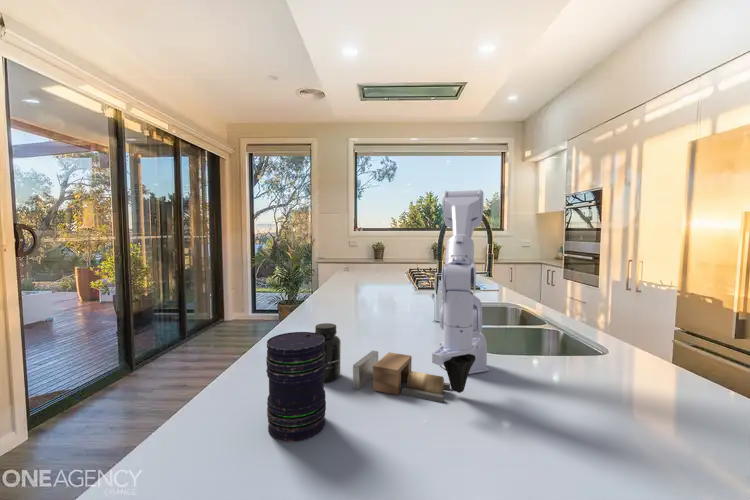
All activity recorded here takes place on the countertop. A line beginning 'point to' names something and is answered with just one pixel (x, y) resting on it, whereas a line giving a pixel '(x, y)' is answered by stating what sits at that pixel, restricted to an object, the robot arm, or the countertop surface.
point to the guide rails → (425, 393)
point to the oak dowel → (425, 382)
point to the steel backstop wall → (364, 369)
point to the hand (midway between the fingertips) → (457, 390)
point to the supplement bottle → (330, 350)
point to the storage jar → (296, 386)
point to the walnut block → (391, 373)
